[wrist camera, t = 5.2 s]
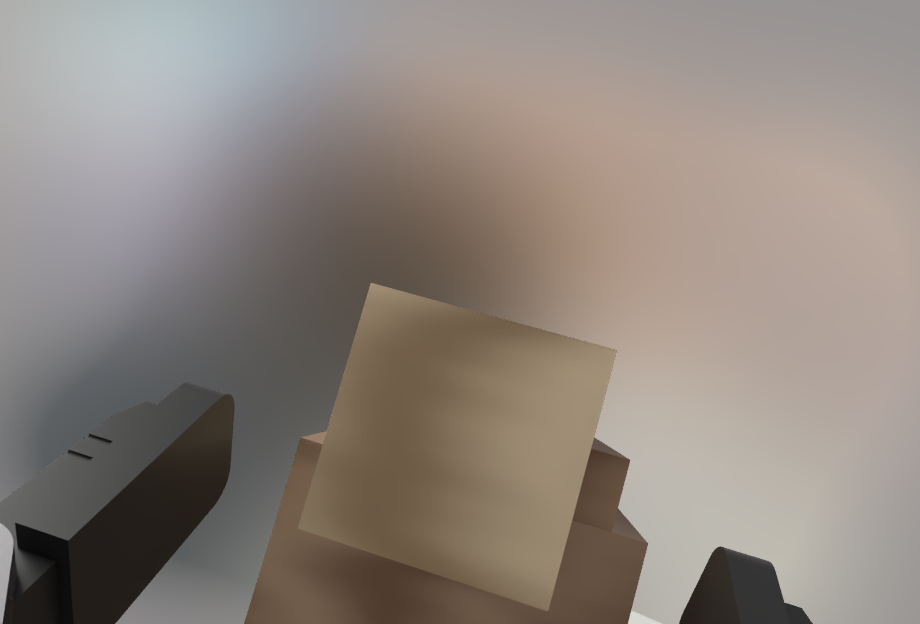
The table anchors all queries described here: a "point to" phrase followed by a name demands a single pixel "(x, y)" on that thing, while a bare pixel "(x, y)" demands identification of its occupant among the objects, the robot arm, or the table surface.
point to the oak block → (459, 444)
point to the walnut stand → (438, 598)
